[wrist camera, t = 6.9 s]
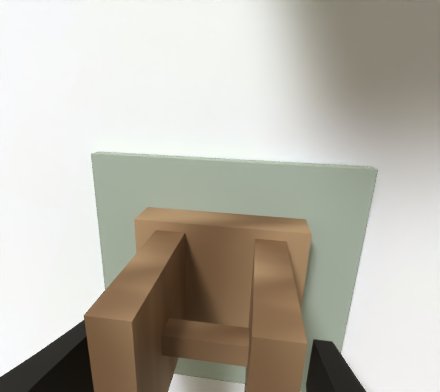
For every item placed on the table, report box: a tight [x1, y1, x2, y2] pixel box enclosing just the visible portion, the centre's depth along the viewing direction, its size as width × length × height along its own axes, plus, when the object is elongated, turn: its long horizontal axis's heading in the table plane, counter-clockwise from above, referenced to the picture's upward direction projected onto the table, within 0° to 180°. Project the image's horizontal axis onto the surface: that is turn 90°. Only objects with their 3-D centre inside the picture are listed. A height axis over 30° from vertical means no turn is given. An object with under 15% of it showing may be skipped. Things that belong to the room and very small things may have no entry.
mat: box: [91, 152, 378, 392], centre depth 14 cm, size 12×12×1 cm
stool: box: [84, 207, 312, 392], centre depth 10 cm, size 7×6×6 cm
